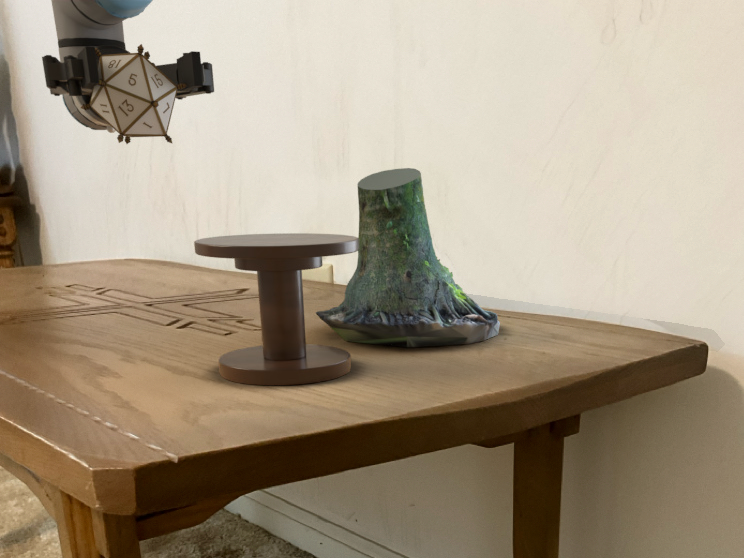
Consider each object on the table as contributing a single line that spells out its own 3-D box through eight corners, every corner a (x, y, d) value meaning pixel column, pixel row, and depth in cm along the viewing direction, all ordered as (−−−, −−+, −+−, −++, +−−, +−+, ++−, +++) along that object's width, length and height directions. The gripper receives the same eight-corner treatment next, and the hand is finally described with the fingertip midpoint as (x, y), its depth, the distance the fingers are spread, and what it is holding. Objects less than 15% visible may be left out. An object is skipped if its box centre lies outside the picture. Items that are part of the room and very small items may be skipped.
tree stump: (537, 330, 91) (536, 150, 80) (441, 415, 78) (424, 216, 67) (396, 307, 100) (377, 143, 89) (288, 380, 87) (252, 200, 76)
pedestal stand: (185, 366, 74) (170, 238, 69) (318, 349, 80) (312, 231, 76) (244, 396, 64) (232, 249, 59) (391, 374, 70) (389, 240, 66)
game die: (124, 186, 81) (42, 92, 77) (169, 152, 86) (95, 62, 82) (175, 133, 75) (90, 28, 71) (221, 100, 81) (144, 1, 77)
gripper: (208, 127, 99) (265, 116, 80) (12, 124, 90) (24, 112, 72) (202, 53, 96) (259, 24, 77) (-2, 43, 87) (7, 8, 69)
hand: (146, 66), depth 74 cm, fingers closed on game die, 8 cm apart
